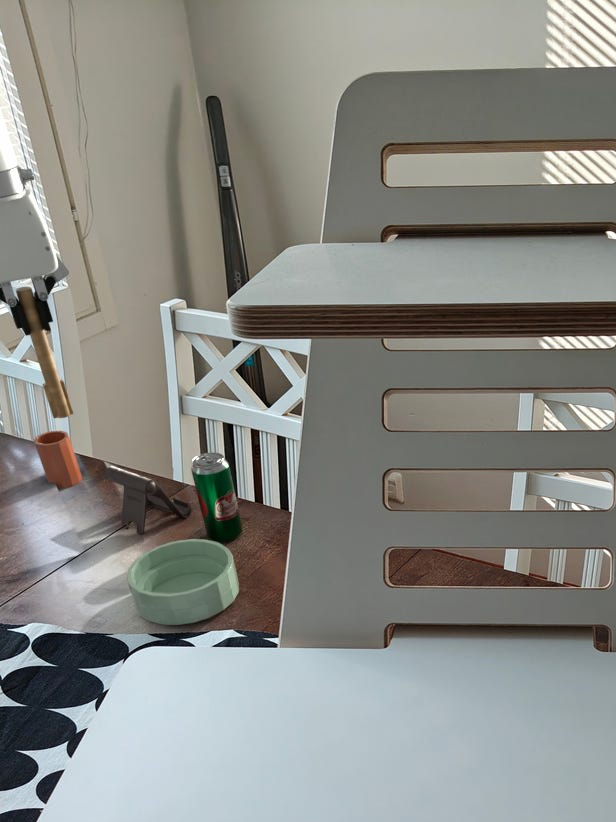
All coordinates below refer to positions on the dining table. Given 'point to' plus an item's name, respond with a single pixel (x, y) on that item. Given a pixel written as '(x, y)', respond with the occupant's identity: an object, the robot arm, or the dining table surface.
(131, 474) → the tablet stand
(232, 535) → the soda can
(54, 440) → the crock
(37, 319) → the wooden dowel rod
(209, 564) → the bowl
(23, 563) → the dining table surface
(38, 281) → the robot arm
